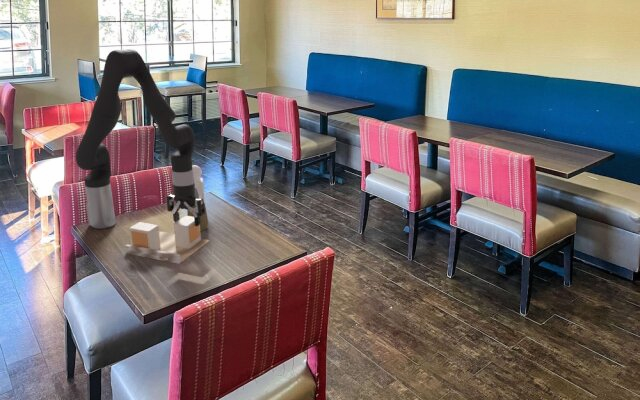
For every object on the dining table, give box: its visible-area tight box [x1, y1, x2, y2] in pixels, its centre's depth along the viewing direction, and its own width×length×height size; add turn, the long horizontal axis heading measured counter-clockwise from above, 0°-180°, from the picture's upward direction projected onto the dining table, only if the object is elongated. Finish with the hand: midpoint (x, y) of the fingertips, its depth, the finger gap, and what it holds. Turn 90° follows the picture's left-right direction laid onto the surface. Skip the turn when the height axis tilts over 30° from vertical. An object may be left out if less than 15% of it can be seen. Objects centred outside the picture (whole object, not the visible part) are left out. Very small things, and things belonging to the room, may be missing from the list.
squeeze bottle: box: [186, 188, 209, 232], centre depth 211 cm, size 8×8×18 cm
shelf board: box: [124, 230, 211, 264], centre depth 197 cm, size 22×20×4 cm
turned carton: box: [173, 215, 202, 249], centre depth 199 cm, size 6×8×9 cm
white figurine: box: [192, 164, 205, 201], centre depth 225 cm, size 6×6×22 cm
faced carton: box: [128, 221, 161, 250], centre depth 194 cm, size 6×8×9 cm
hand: (187, 223), depth 198 cm, fingers open, 8 cm apart
